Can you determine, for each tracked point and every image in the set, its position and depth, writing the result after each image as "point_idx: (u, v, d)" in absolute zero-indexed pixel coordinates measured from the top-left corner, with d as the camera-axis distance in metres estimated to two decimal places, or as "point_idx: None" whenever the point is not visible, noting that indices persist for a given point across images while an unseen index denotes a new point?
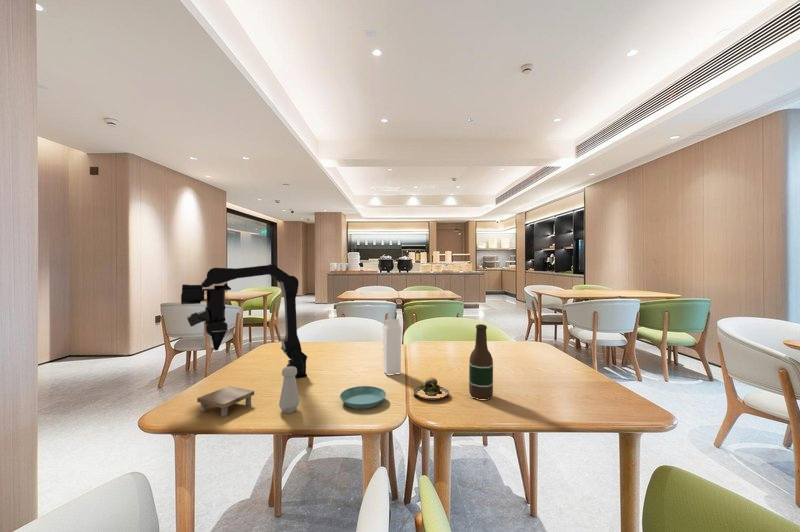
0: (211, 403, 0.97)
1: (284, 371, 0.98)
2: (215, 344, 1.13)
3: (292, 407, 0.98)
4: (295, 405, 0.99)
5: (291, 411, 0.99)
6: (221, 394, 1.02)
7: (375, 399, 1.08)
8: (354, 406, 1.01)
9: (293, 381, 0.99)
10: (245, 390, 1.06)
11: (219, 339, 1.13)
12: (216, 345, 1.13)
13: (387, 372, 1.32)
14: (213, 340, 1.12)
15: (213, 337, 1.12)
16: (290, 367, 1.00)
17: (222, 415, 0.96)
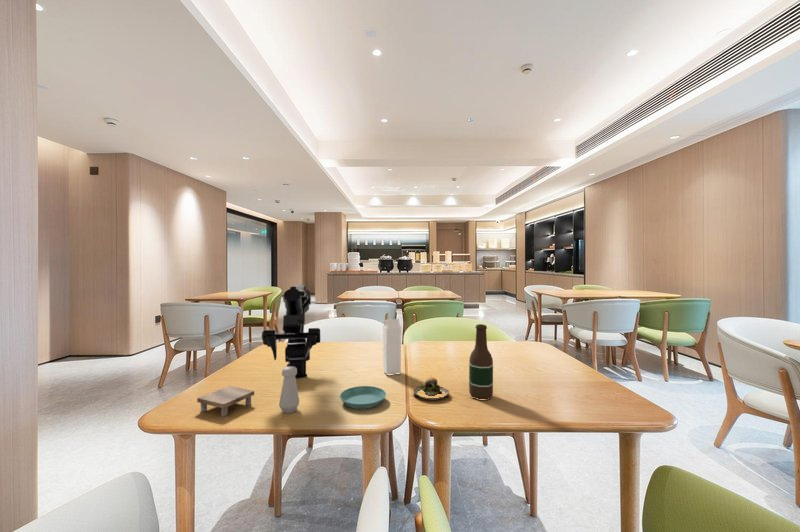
0: (211, 403, 0.97)
1: (284, 371, 0.98)
2: (307, 351, 1.10)
3: (292, 407, 0.98)
4: (295, 405, 0.99)
5: (291, 411, 0.99)
6: (221, 394, 1.02)
7: (375, 399, 1.08)
8: (354, 406, 1.01)
9: (293, 381, 0.99)
10: (245, 390, 1.06)
11: (309, 349, 1.12)
12: (307, 353, 1.10)
13: (387, 372, 1.32)
14: (309, 346, 1.11)
15: None
16: (290, 367, 1.00)
17: (222, 415, 0.96)
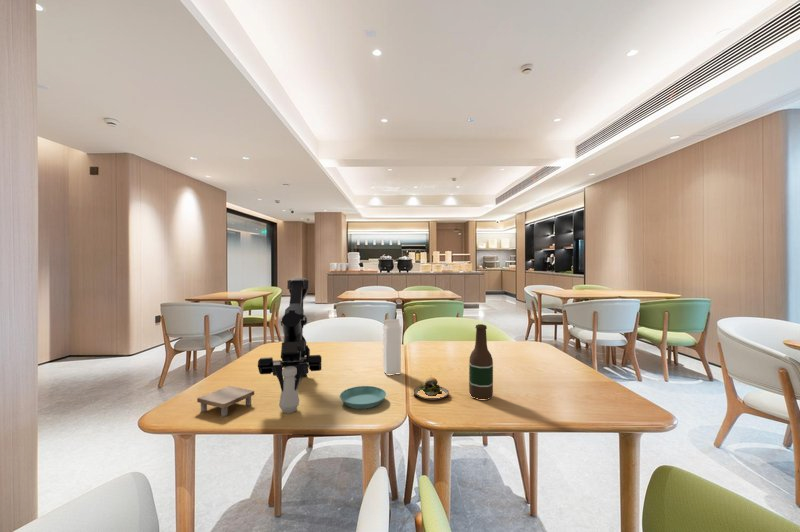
0: (211, 403, 0.97)
1: (284, 371, 0.98)
2: (298, 382, 1.01)
3: (292, 407, 0.98)
4: (295, 405, 0.99)
5: (291, 411, 0.99)
6: (221, 394, 1.02)
7: (375, 399, 1.08)
8: (354, 406, 1.01)
9: (293, 381, 0.99)
10: (245, 390, 1.06)
11: (300, 379, 1.03)
12: (298, 384, 1.01)
13: (387, 372, 1.32)
14: (300, 376, 1.01)
15: None
16: (290, 367, 1.00)
17: (222, 415, 0.96)
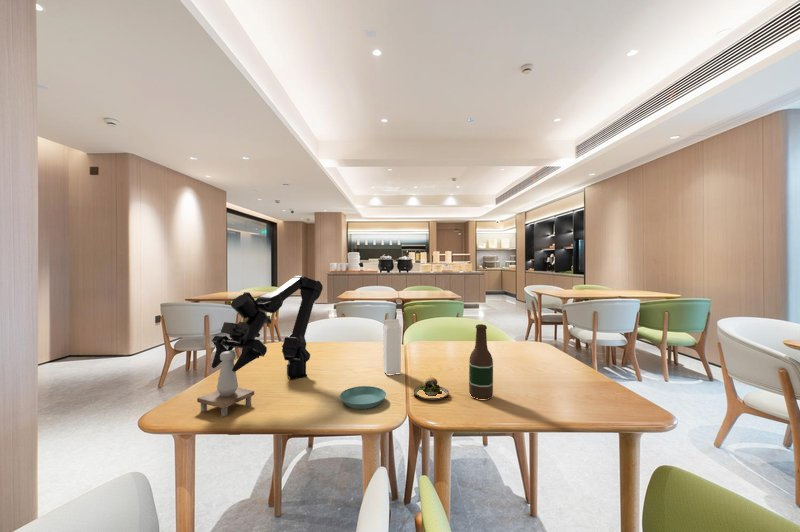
0: (211, 403, 0.97)
1: (220, 354, 1.01)
2: (239, 364, 1.00)
3: (223, 391, 1.00)
4: (226, 390, 1.00)
5: (223, 395, 1.00)
6: None
7: (375, 399, 1.08)
8: (354, 406, 1.01)
9: (227, 366, 1.01)
10: (245, 390, 1.06)
11: (245, 361, 1.02)
12: (238, 366, 1.00)
13: (387, 372, 1.32)
14: (241, 359, 1.01)
15: (244, 356, 1.01)
16: (228, 352, 1.02)
17: (222, 415, 0.96)
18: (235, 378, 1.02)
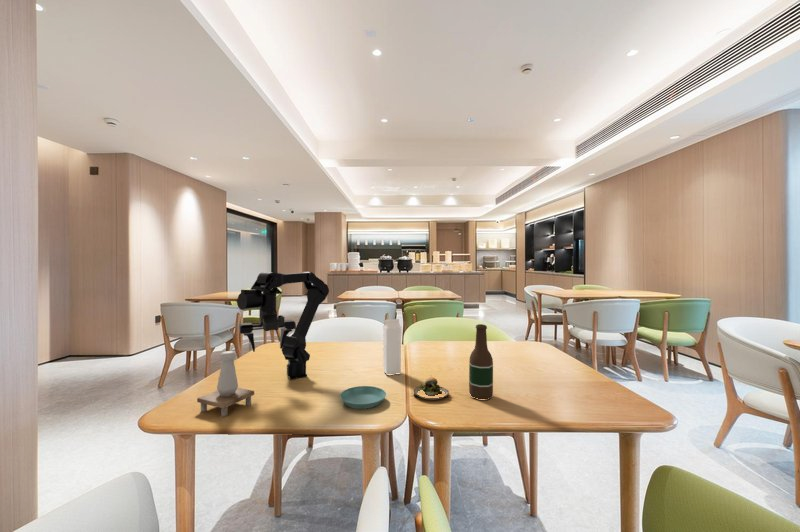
0: (211, 403, 0.97)
1: (220, 354, 1.01)
2: None
3: (223, 391, 1.00)
4: (226, 390, 1.00)
5: (223, 395, 1.00)
6: None
7: (375, 399, 1.08)
8: (354, 406, 1.01)
9: (227, 366, 1.01)
10: (245, 390, 1.06)
11: None
12: None
13: (387, 372, 1.32)
14: None
15: None
16: (228, 352, 1.02)
17: (222, 415, 0.96)
18: (235, 378, 1.02)
